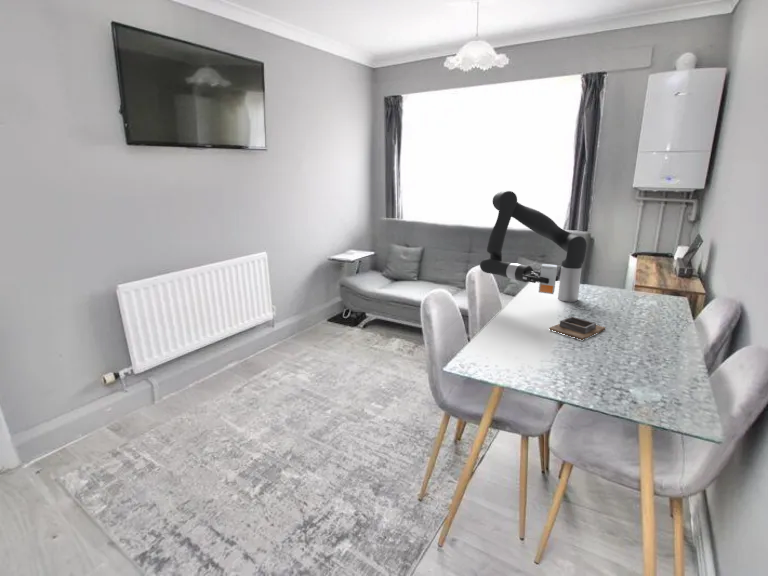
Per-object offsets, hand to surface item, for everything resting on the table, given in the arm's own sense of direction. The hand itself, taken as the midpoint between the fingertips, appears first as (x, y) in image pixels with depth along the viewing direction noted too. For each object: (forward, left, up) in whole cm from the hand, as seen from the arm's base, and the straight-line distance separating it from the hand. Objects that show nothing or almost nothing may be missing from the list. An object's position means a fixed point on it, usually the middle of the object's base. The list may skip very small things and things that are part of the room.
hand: (553, 279), depth 166 cm
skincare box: (0, -2, -6) cm, 7 cm away
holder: (-2, +12, -20) cm, 23 cm away
